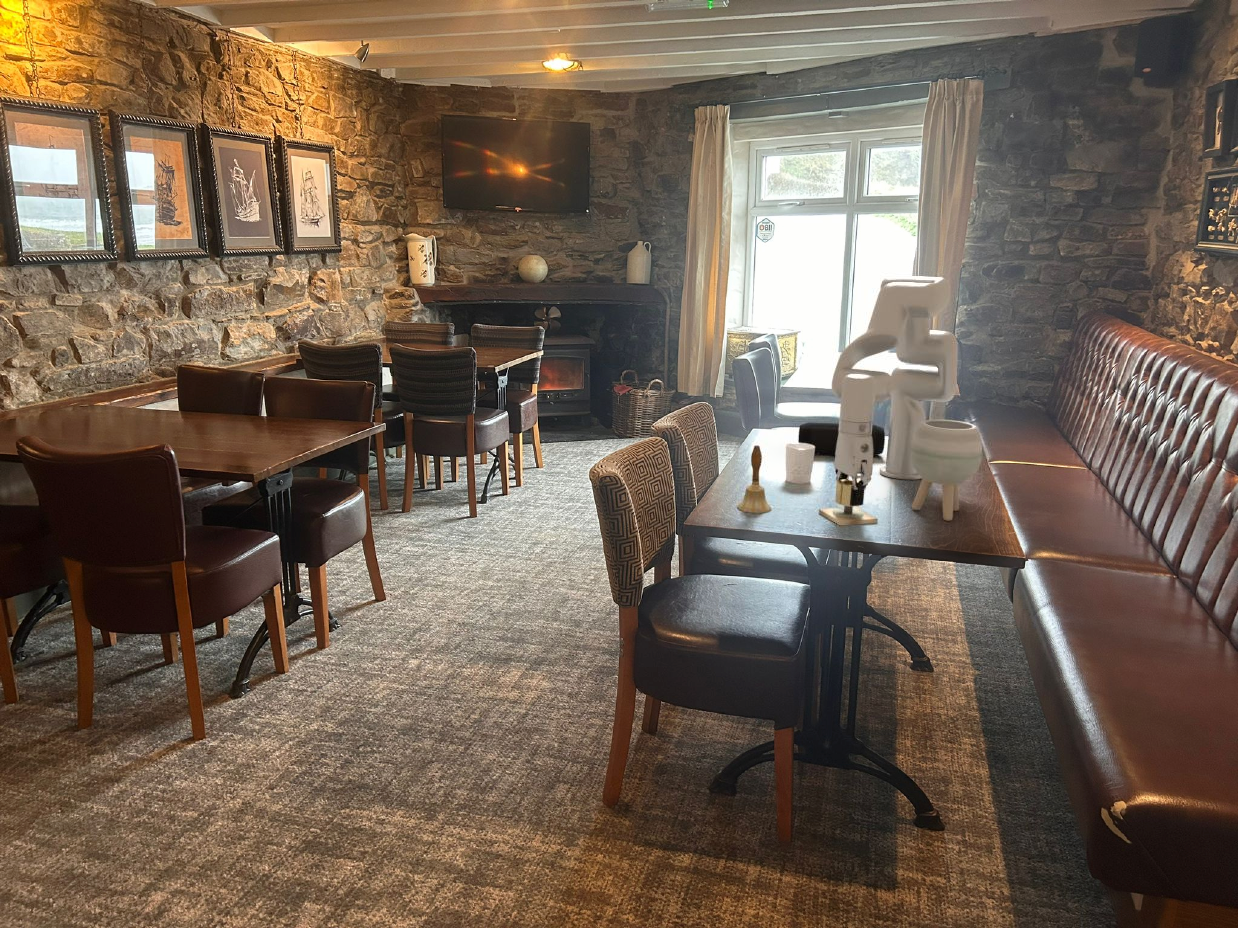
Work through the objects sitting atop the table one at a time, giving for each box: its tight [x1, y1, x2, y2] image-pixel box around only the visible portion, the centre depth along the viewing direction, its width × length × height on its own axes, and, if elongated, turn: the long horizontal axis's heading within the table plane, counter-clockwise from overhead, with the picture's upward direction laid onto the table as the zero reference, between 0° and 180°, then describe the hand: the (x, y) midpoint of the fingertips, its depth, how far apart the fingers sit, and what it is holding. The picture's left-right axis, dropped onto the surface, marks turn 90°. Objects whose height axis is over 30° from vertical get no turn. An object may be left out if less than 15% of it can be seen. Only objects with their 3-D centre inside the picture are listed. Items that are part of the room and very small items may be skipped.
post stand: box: [818, 506, 879, 526], centre depth 204 cm, size 10×10×8 cm
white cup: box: [785, 442, 815, 485], centre depth 236 cm, size 8×8×10 cm
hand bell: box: [736, 445, 772, 514], centre depth 209 cm, size 8×8×16 cm
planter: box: [910, 419, 983, 522], centre depth 207 cm, size 16×16×22 cm
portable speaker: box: [797, 421, 886, 457], centre depth 269 cm, size 26×10×10 cm, turn 84°
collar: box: [834, 478, 862, 507], centre depth 203 cm, size 6×6×5 cm
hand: (849, 500), depth 204 cm, fingers closed on collar, 6 cm apart
